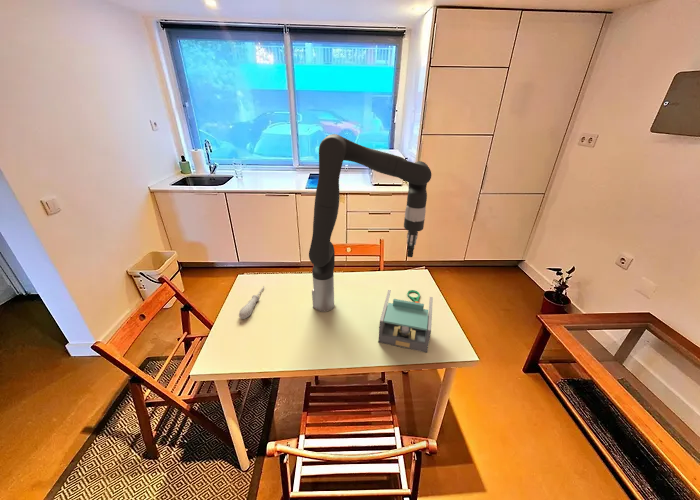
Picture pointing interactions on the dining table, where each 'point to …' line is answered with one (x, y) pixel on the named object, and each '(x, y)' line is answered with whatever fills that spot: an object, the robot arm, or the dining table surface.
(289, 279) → the dining table surface
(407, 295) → the magnifying glass
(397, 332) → the housing
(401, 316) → the lid
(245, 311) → the screwdriver
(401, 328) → the pin
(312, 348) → the dining table surface
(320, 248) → the robot arm
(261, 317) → the dining table surface
